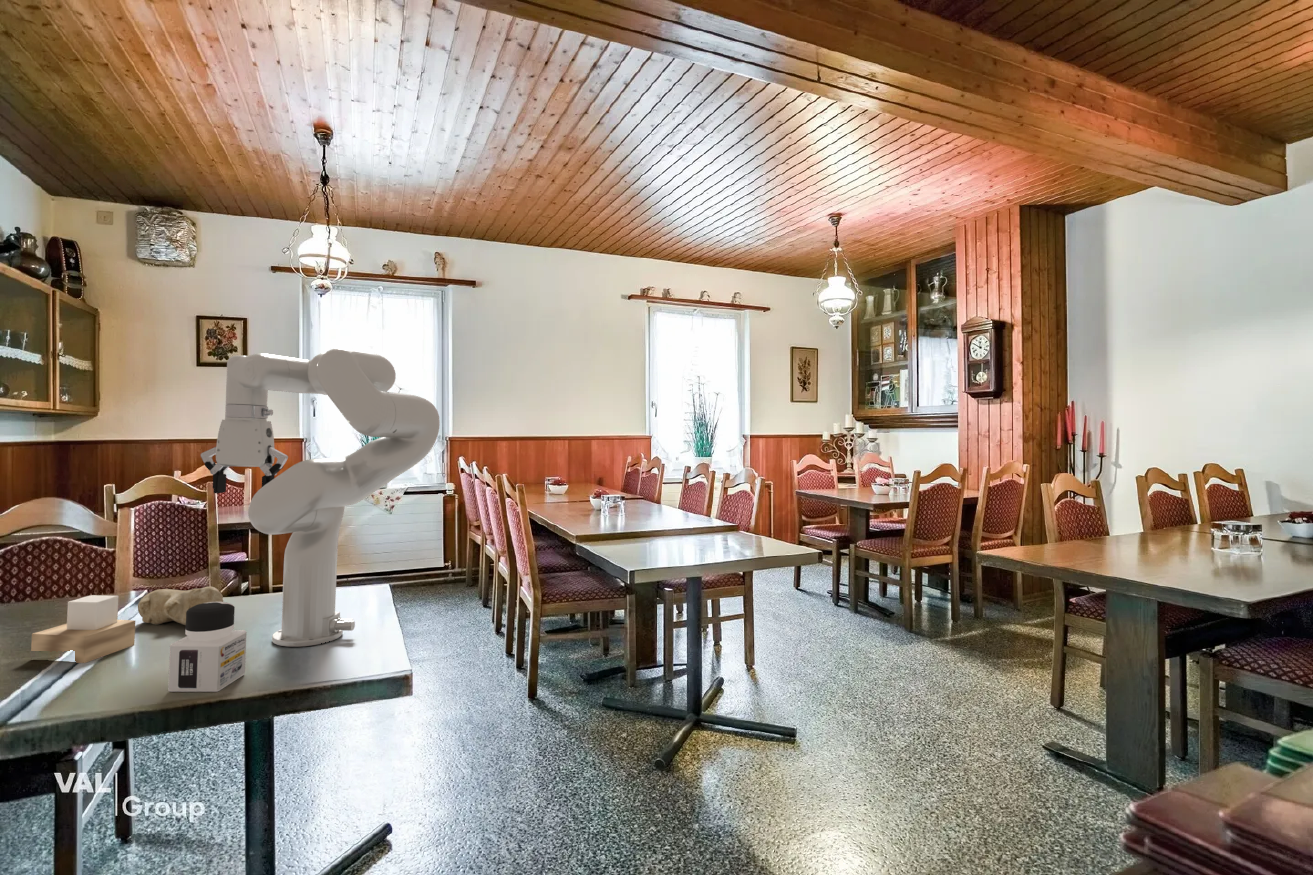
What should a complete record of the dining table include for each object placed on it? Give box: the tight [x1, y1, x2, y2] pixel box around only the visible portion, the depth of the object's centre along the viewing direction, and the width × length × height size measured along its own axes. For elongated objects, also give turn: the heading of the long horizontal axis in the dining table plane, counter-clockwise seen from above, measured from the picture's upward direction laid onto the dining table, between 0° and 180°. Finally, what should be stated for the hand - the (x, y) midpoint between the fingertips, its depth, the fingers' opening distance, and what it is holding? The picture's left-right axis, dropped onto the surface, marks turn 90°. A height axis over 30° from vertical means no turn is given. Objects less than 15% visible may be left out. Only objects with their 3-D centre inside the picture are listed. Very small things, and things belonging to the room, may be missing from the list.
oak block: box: [30, 619, 136, 664], centre depth 116 cm, size 10×10×5 cm
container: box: [167, 601, 248, 693], centre depth 104 cm, size 8×8×13 cm
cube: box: [66, 594, 120, 630], centre depth 117 cm, size 5×5×5 cm
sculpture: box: [137, 586, 224, 626], centre depth 134 cm, size 9×17×10 cm
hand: (243, 493), depth 135 cm, fingers open, 9 cm apart
